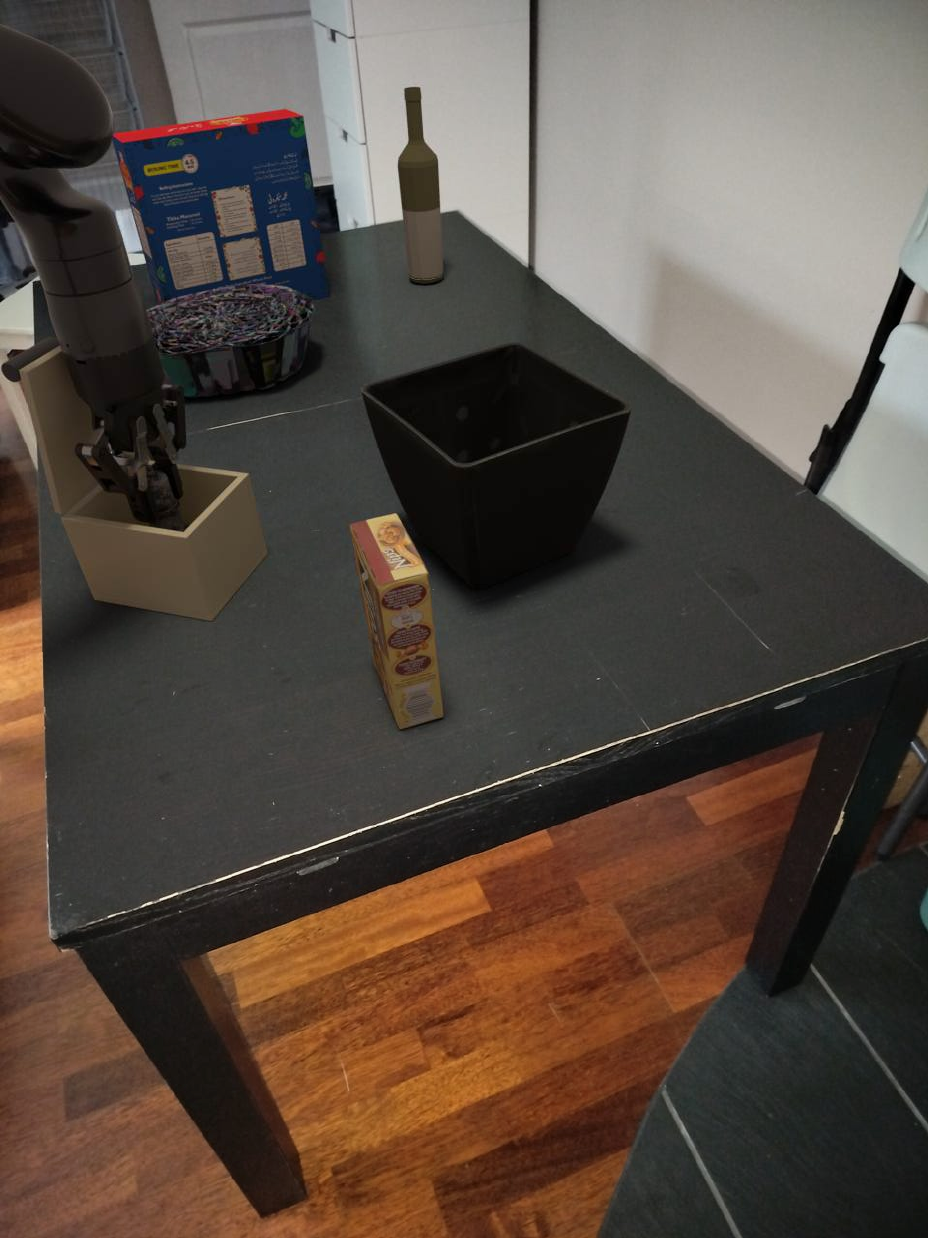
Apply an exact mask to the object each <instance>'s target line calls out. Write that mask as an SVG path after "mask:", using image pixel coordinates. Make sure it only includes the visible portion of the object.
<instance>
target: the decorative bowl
mask: <svg viewBox="0 0 928 1238" xmlns="http://www.w3.org/2000/svg"><path fill="white" fill-rule="evenodd" d="M146 311H147V314H148V318H149V321H150V325H151V328H152V332H153V336H154V339H155V343H156V346H157V350H158V353H159V357H160V361H161V364H162V368H163V371H164V375H165V379H164V383H163V384H168V385H178V386H182V387H183V389H184V398H191V399H198V398H200V397H206V398H209V397H214V396H218V395H222V396H227V395H236V394H239V393H241V392H247V391H248V392H249V391H253V390H259V391H260V390H261V391H263V390H266V389H269V388H272V387H275V386H276V385H277V384H278V382H282V381H285V380H286V379H287V378H288V377H290V376H294V375H296V374H298V372H299V371H300V370H301V368H302V365H303V363H304V362H305V358H306V353H307V347H308V342H309V338H310V337H309V336H310V331H311V325H312V321H313V316H314V313H315V312H316V308H315V299H313V298H310V297H308V296H306V295H304V294H302V293H301V292H299V291H295V290H293V289H291V288H289V287H284V286H276V285H264V284H247V285H240V286H235V287H226V288H217V289H212V290H209V291H204V292H198V293H193V294H189V295H185V296H181V297H177V298H174V299H171V300H169V301H167V302H164V303H161V304H158V305H157V304H156V305H154V306H152V307H150V308H148V309H146Z"/></svg>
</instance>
